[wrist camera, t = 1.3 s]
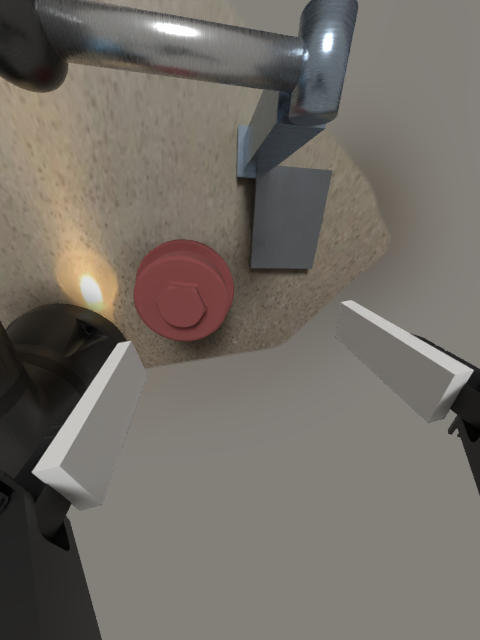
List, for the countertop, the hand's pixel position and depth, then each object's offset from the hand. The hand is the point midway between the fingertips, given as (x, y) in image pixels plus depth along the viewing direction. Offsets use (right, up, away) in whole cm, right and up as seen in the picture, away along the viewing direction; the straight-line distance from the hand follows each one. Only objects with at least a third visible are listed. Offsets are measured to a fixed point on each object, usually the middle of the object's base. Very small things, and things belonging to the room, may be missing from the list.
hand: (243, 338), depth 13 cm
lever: (-3, +14, -3) cm, 14 cm away
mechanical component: (-7, +8, +15) cm, 19 cm away
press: (+5, +16, +13) cm, 21 cm away
